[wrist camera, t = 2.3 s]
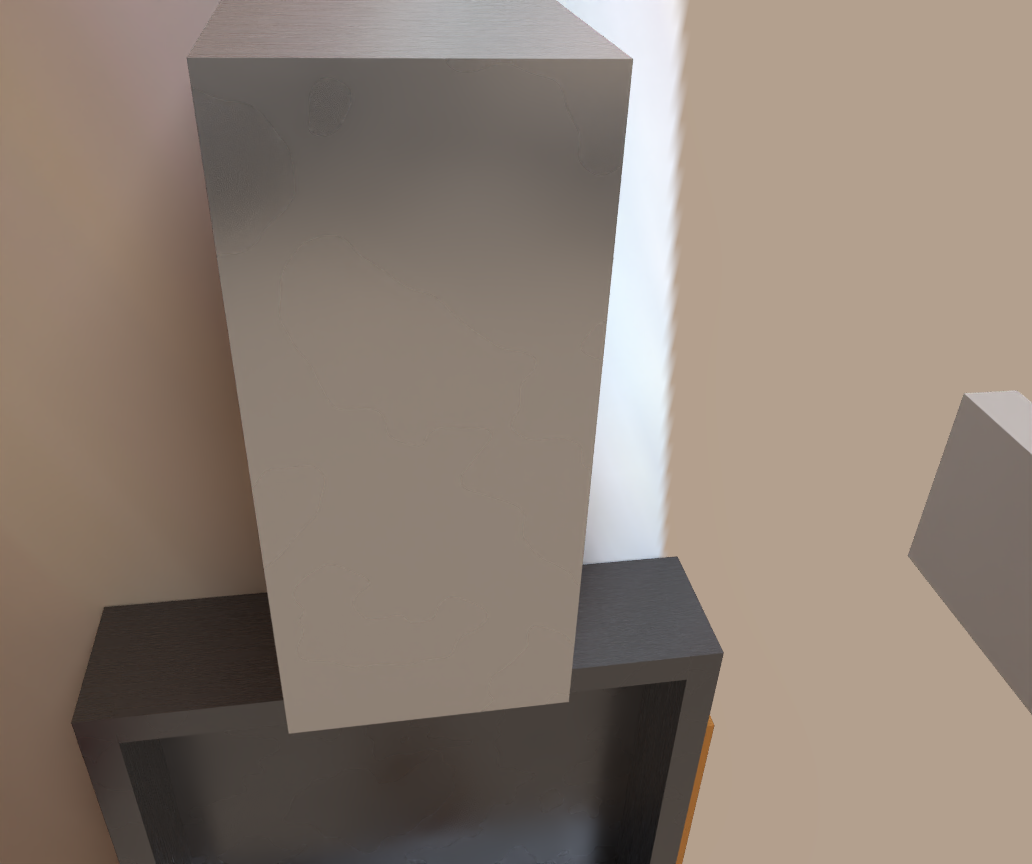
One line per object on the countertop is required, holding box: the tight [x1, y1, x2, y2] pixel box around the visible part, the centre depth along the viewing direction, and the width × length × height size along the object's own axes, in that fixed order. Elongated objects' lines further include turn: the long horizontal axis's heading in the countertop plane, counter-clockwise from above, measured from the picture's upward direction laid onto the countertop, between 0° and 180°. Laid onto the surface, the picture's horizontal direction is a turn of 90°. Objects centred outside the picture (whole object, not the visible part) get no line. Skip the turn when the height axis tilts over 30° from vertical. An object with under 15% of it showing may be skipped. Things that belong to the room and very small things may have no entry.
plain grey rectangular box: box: [187, 0, 633, 734], centre depth 15 cm, size 4×10×8 cm, turn 178°
